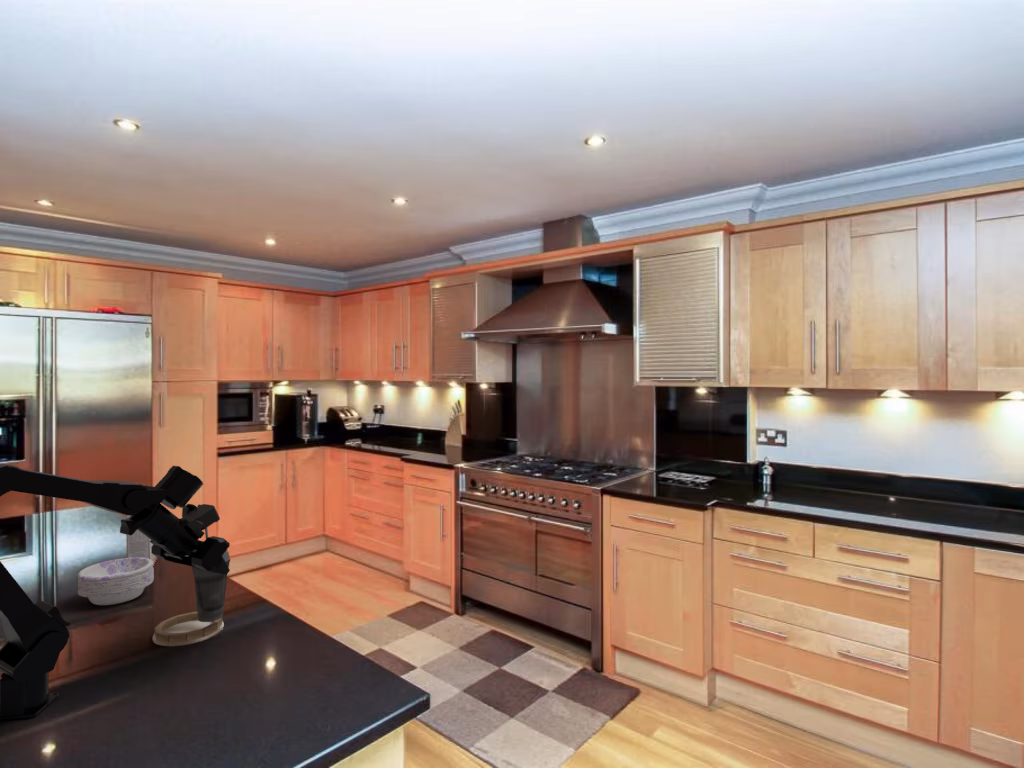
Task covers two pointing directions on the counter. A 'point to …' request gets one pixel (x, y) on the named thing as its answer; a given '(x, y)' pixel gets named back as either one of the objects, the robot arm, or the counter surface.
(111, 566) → the paper bowls
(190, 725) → the counter surface
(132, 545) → the white cardboard box
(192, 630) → the ring holder
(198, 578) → the beverage cup
